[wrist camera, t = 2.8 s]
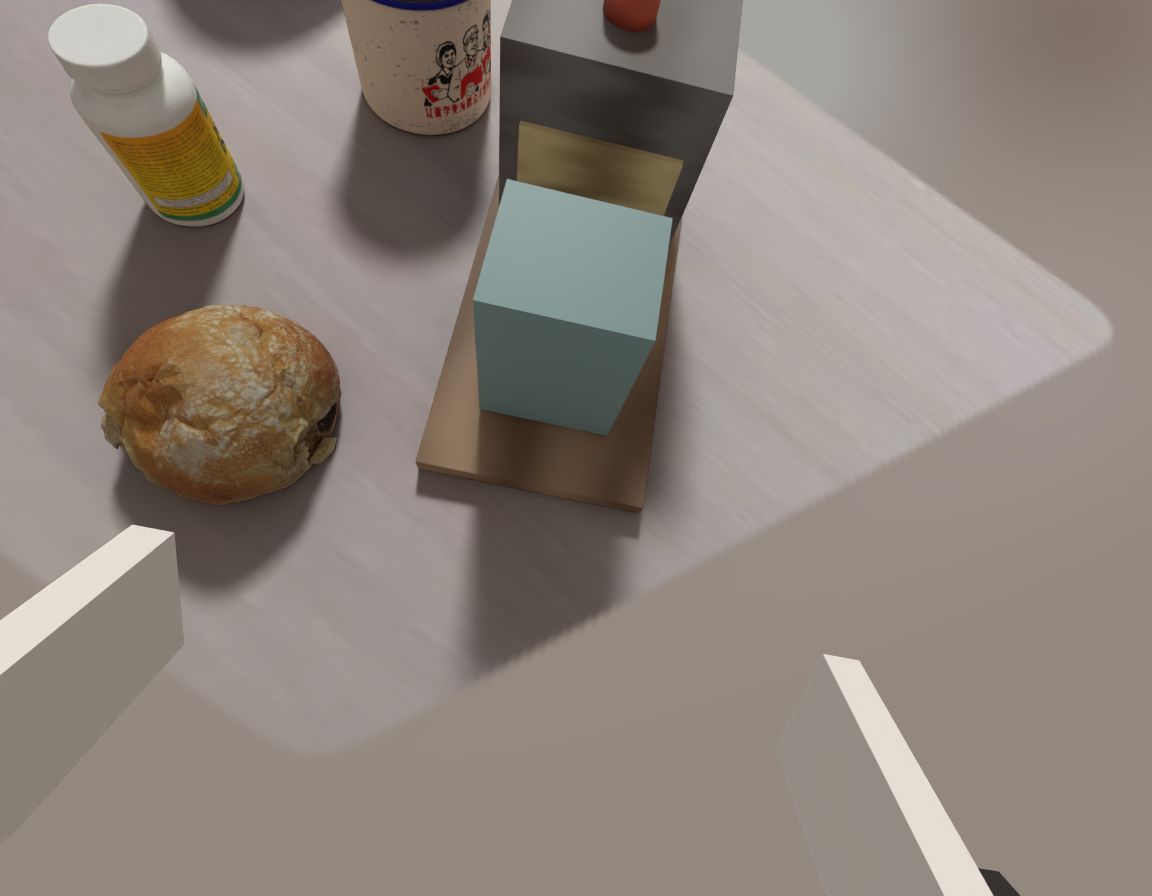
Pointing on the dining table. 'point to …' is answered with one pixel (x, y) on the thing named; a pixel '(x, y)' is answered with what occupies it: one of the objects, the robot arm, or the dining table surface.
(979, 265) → the dining table surface
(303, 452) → the bread roll
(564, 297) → the teal rectangular block
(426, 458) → the switch base
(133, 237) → the dining table surface
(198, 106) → the supplement bottle
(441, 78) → the teacup with lid
